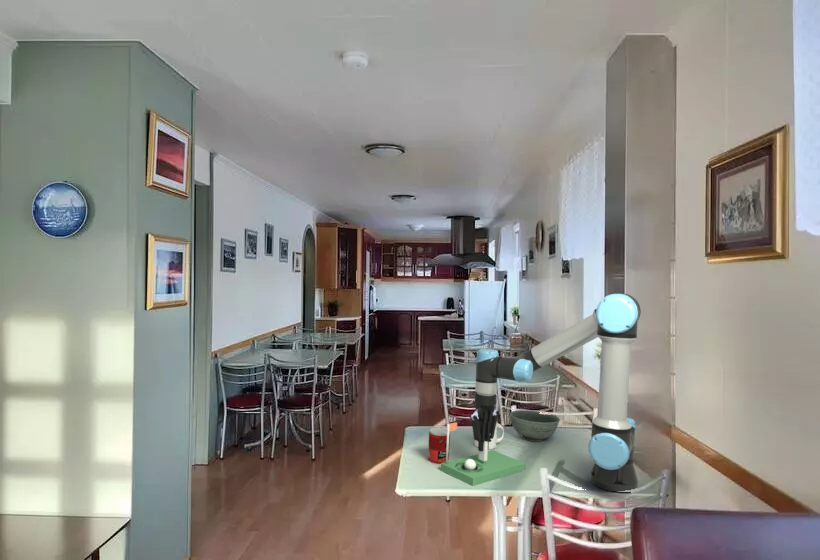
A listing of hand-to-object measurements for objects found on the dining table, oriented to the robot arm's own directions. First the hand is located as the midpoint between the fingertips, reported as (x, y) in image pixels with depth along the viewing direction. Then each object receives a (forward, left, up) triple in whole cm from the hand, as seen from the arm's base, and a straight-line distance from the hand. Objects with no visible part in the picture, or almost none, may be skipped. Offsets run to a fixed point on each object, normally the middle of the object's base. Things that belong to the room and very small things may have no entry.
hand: (482, 459), depth 188 cm
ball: (0, +6, -1) cm, 6 cm away
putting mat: (0, 0, -4) cm, 4 cm away
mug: (+17, -21, -4) cm, 27 cm away
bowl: (+14, -45, -4) cm, 47 cm away
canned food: (+16, +7, -4) cm, 18 cm away
